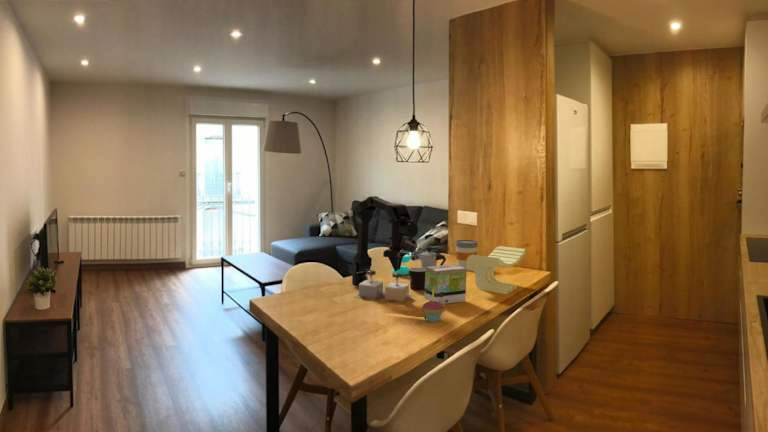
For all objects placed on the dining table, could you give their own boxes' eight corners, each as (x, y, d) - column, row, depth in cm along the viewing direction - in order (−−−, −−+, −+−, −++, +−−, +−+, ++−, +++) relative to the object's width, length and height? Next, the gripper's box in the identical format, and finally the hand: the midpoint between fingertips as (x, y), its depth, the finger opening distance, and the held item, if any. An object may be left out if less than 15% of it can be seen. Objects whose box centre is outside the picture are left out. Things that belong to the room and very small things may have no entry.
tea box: (436, 306, 200) (437, 271, 198) (423, 300, 209) (424, 266, 207) (466, 301, 207) (467, 267, 205) (452, 295, 216) (453, 263, 214)
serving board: (353, 299, 208) (353, 297, 208) (365, 292, 220) (365, 290, 220) (404, 305, 200) (404, 303, 200) (413, 297, 212) (413, 295, 212)
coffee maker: (413, 283, 238) (414, 247, 236) (419, 279, 246) (419, 244, 244) (442, 286, 232) (443, 249, 230) (447, 282, 240) (448, 246, 238)
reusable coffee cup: (454, 269, 271) (455, 242, 269) (454, 264, 283) (455, 239, 281) (477, 270, 268) (478, 243, 267) (476, 265, 281) (477, 240, 279)
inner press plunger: (361, 287, 210) (361, 272, 209) (367, 283, 216) (367, 269, 215) (375, 288, 208) (375, 273, 207) (380, 285, 214) (380, 270, 213)
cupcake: (420, 316, 186) (420, 286, 185) (442, 316, 187) (442, 285, 185) (424, 323, 177) (424, 291, 176) (446, 323, 178) (447, 291, 177)
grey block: (359, 296, 210) (359, 283, 209) (367, 291, 219) (367, 279, 218) (376, 298, 207) (376, 285, 207) (384, 292, 216) (384, 280, 215)
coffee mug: (425, 293, 219) (426, 271, 218) (406, 292, 221) (407, 271, 220) (428, 287, 230) (428, 266, 229) (410, 286, 232) (410, 265, 231)
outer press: (384, 299, 206) (384, 286, 205) (392, 293, 215) (392, 281, 214) (402, 301, 203) (402, 288, 202) (409, 295, 212) (409, 283, 211)
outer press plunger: (387, 289, 206) (387, 274, 205) (392, 286, 212) (392, 271, 211) (401, 291, 204) (401, 275, 203) (406, 287, 210) (406, 272, 209)
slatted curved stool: (493, 280, 246) (494, 245, 244) (523, 284, 236) (525, 248, 235) (465, 292, 222) (466, 253, 221) (497, 298, 213) (499, 258, 211)
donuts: (414, 254, 259) (404, 257, 251) (414, 273, 260) (404, 276, 252) (398, 252, 265) (388, 255, 257) (398, 270, 266) (388, 274, 258)
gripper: (408, 238, 194) (408, 276, 195) (422, 232, 211) (421, 267, 213) (382, 236, 198) (382, 274, 199) (397, 231, 215) (397, 265, 217)
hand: (397, 270), depth 207 cm, fingers open, 3 cm apart
